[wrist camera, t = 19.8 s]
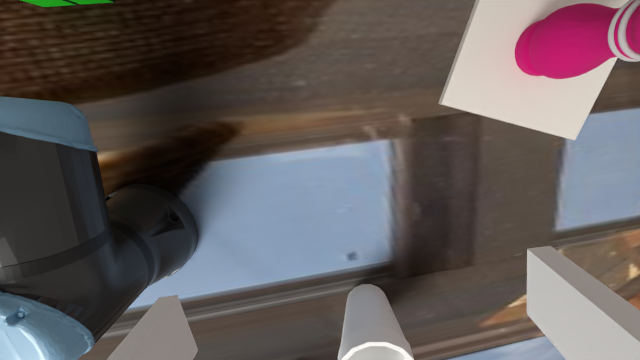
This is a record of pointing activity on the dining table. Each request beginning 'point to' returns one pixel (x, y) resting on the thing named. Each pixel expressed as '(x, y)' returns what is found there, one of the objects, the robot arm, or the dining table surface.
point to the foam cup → (371, 328)
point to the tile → (518, 71)
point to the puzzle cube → (65, 2)
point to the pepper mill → (579, 40)
